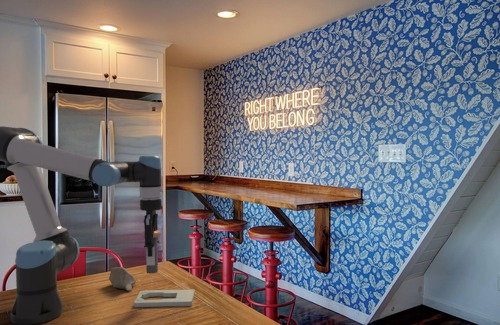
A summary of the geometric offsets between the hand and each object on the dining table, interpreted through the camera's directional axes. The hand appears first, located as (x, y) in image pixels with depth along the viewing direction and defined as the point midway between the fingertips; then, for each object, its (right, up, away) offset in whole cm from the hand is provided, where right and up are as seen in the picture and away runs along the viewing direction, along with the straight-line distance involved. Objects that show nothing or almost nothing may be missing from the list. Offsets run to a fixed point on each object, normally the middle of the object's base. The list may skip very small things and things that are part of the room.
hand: (151, 263), depth 142 cm
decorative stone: (-15, -14, +16) cm, 26 cm away
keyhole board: (+5, -14, +1) cm, 14 cm away
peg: (0, -3, 0) cm, 3 cm away
